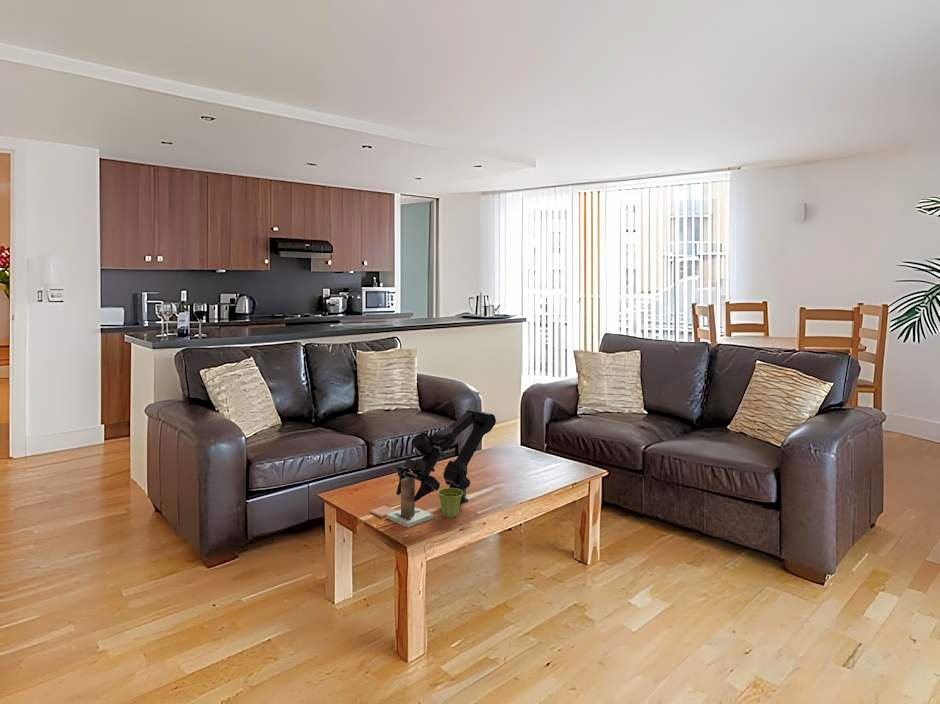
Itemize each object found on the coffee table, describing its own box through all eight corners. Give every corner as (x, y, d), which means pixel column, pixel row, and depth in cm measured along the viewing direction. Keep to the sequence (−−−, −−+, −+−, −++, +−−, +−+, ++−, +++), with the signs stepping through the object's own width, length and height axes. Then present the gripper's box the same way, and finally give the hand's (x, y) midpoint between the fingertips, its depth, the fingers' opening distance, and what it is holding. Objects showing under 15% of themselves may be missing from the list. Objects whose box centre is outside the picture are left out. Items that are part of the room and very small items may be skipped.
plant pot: (462, 509, 242) (463, 487, 241) (463, 519, 232) (463, 496, 231) (438, 509, 241) (438, 487, 240) (437, 519, 232) (437, 496, 231)
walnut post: (408, 511, 235) (408, 477, 234) (417, 514, 232) (417, 480, 230) (398, 514, 232) (398, 480, 230) (407, 518, 228) (407, 483, 227)
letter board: (411, 509, 241) (411, 505, 241) (433, 518, 233) (433, 514, 233) (386, 518, 232) (386, 514, 232) (408, 527, 224) (408, 523, 224)
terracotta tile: (384, 507, 243) (384, 505, 242) (396, 512, 238) (396, 510, 238) (369, 512, 237) (369, 510, 237) (381, 517, 233) (381, 515, 233)
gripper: (400, 444, 238) (376, 480, 232) (434, 455, 226) (411, 492, 219) (415, 461, 245) (393, 495, 238) (450, 472, 232) (427, 508, 226)
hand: (405, 497), depth 230 cm, fingers open, 9 cm apart
